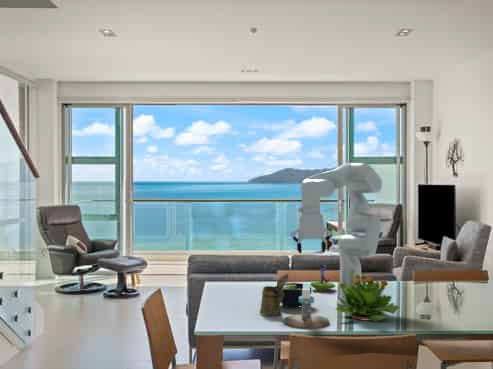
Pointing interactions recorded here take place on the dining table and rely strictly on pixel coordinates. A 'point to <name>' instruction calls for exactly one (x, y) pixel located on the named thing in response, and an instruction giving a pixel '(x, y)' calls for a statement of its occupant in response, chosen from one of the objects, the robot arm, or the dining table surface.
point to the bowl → (292, 294)
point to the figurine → (322, 284)
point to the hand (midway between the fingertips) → (311, 252)
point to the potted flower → (366, 299)
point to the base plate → (303, 323)
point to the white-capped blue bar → (306, 295)
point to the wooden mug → (273, 297)
